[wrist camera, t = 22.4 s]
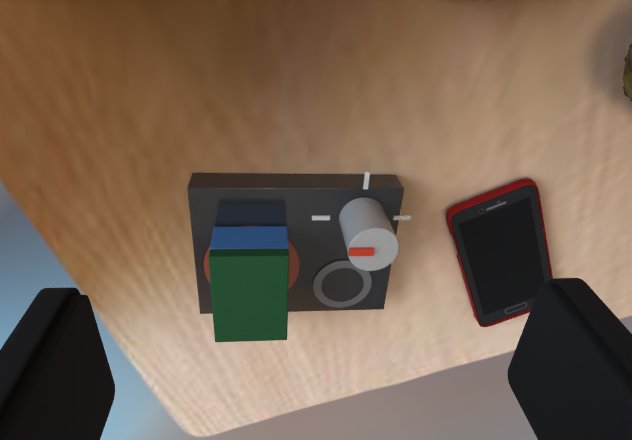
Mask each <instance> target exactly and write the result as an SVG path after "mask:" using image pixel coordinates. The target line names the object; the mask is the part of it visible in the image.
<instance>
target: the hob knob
mask: <svg viewBox="0 0 632 440" xmlns="http://www.w3.org/2000/svg"><path fill="white" fill-rule="evenodd" d="M339 224H340V228H341V231H342V235H343V239H344V242H345V246H346V250H347V254H348V257H349V260H350V261H351V263H352V264H353V265H354V266H355V267H357V268H359V269H361V270H365V271H375V270H379V269H382V268H384V267H386V266H388V265H389V264H390V263H392V262H393V260H394V259H395V258H396V256H397V254H398V251H399V242H398V239H397V237H396V235H395V233H394V231H393V228H392V226H391V224H390V222H389V220H388V217H387V215H386V213H385V211H384V209H383V207H382V205H381V204H380V203H379V202H378V201H376V200H374V199H371V198H366V197H363V198H357V199H354V200H352V201H350V202H349V203H347V204H346V205H345V206H344V207H343V209H342V210H341V212H340V215H339Z"/></svg>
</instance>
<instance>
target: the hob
mask: <svg viewBox="0 0 632 440" xmlns="http://www.w3.org/2000/svg"><path fill="white" fill-rule="evenodd" d="M403 191H404V188H403V186H402V185H401V183H400V181H399V179H398V178H397V176H396V175H370V172H369V171H365V174H364V175H346V174H219V173H192V176H191V179H190V182H189V185H188V198H189V208H190V218H191V228H192V237H193V247H194V257H195V267H196V277H197V287H198V296H199V306H200V314H209V313H213V309H212V297H211V285H210V283H209V281H208V279H207V277H206V274H205V270H204V260H205V255H206V252H207V250H208V248H209V246H210V245H211V240H212V234H213V229H214V227H242V226H261V227H263V226H286V227H287V234H288V240H289V241H290V242H291V243H292V244H293V246H294V247H295V249H296V251H297V253H298V257H299V273H298V276H297V278H296V280H295V282H294V284H293V285H292V286H291V287H290V289H289V290H288V312H290V311H330V310H370V309H384V304H385V298H386V292H387V286H388V280H389V274H390V268H391V263H390V264H389V265H388V266H386V267H384V268H382V269H379V270H375V271H369V273H370V275H371V279H372V285H371V288H370V291H369V293H368V294H367V295H366V297H365V298H364V299H362V300H361V301H360V302H358V303H356V304H354V305H352V306H348V307H342V308H336V307H331V306H328V305H325V304H323V303H322V302H320V301H319V300H318V299H317V297H316V296H315V294H314V291H313V281H314V278H315V276H316V274H317V272H318V271H319V270H320V269H321V268H322V267H324V266H325V265H327V264H329V263H331V262H334V261H337V260H349V257H348V254H347V250H346V246H345V242H344V239H343V235H342V231H341V228H340V224H339V215H340V212H341V210H342V209H343V207H344V206H345V205H346V204H347V203H349V202H350V201H352V200H354V199H357V198H363V197H366V198H371V199H374V200H376V201H378V202H379V203H380V204H381V205H382V207H383V209H384V211H385V213H386V215H387V217H388V220H389V222H390V224H391V226H392V228H393V231H394V233H395V235H396V233H397V227H398V221H399V220H411V215H400V209H401V203H402V197H403Z"/></svg>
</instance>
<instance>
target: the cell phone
mask: <svg viewBox="0 0 632 440" xmlns="http://www.w3.org/2000/svg"><path fill="white" fill-rule="evenodd" d="M446 219H447V224H448V227H449V231H450V234H451V235H452V237H453V240H454V244H455V247H456V250H457V258H458V261H459V264H460V268H461V271H462V275H463V278H464V281H465V285H466V288H467V292H468V295H469V298H470V302H471V305H472V308H473V312H474V315H475V318H476V320H477V322H478V323H479V325H480V326H481V327H488V326H492V325H495V324H498V323H501V322H503V321H506V320H509V319H512V318H515V317H518V316H520V315H523V314H526V313H529V312H530V311H531V309H532V306H533V303H534V301H535V298H536V296H537V293H538V291H539V289H540V287H542V286H545V285H546V283H547V281H549V280H550V279H553V277H552V270H551V264H550V258H549V251H548V245H547V239H546V232H545V226H544V220H543V213H542V207H541V200H540V194H539V190H538V187H537V185H536V183H535V182H534V181H532V180H531V179H521V180H518V181H515V182H513V183H510V184H508V185H505V186H503V187H500V188H497V189H495V190H492V191H490V192H487V193H485V194H482V195H479V196H477V197H474V198H472V199H469V200H467V201H464V202H461V203H459V204H457V205H454V206H453V207H451V208H449V210H448V211H447V213H446ZM543 230H544V231H543Z"/></svg>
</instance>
